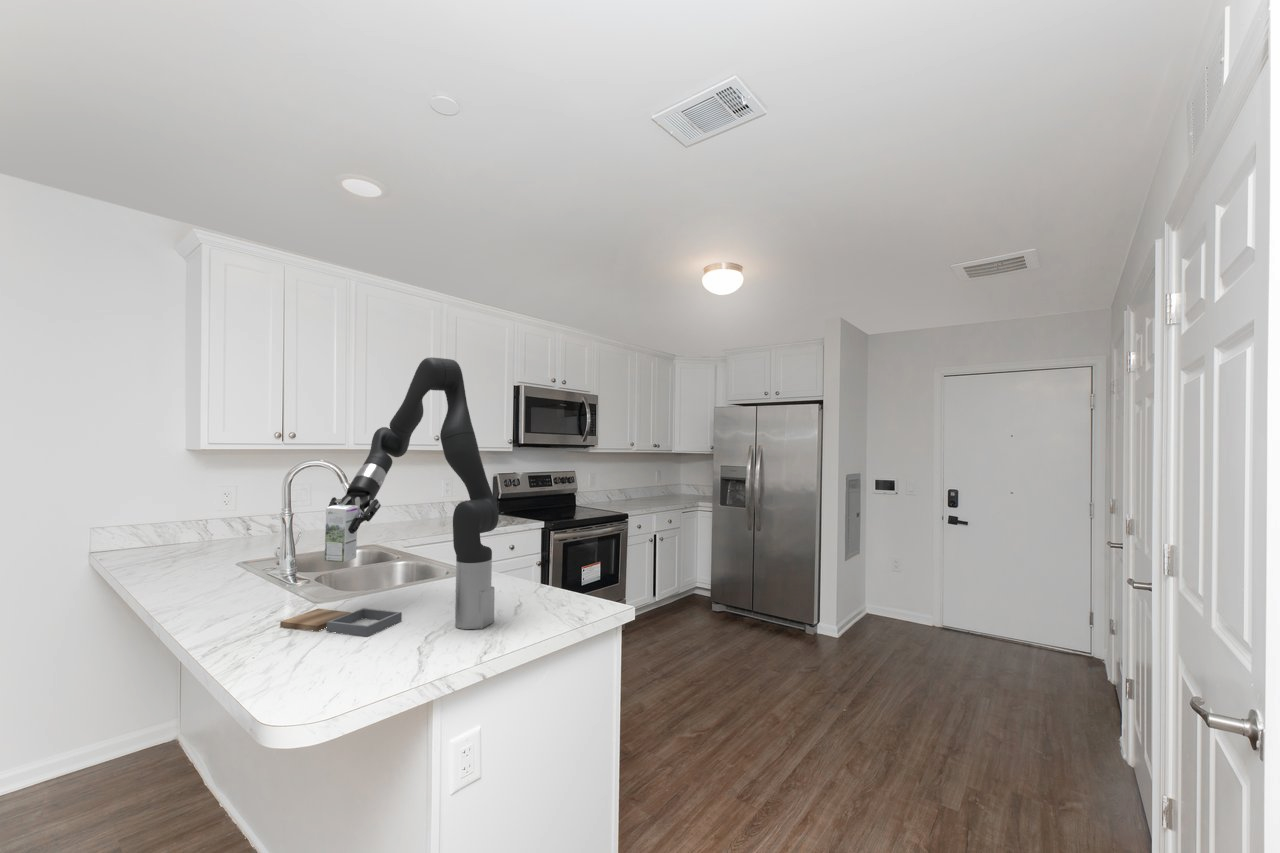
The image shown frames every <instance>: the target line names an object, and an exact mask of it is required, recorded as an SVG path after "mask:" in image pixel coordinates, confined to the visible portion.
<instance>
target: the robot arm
mask: <svg viewBox="0 0 1280 853" xmlns="http://www.w3.org/2000/svg"><path fill="white" fill-rule="evenodd" d="M430 391H441V392H444V394H445V398H446V404H447V411H446V415H445V417H444V421H443V422H442V426H441V428H440V433H439V434H440V437H439V438H440V443H441V445H442V451H443V454H444V455H443V456H444V458H445V460H446V461H447V463H448V465H449V466H450V468H451V469H452V471H454V473H455V474H456V475H457V476H458V477H459V478H460V480H461V481H462V482H463V484H464V486H465V487H466V491H467V493H468V497H469V499H470V500H464V501H461V502H459V503H458V504H456V506H455V508H454V510H453V515H452V535H453V536H452V537H453V539H452V540H453V543H452V544H453V549H454V552H455V558H456V560H455V603H454V604H455V605H454V606H455V608H454V610H455V612H454V613H455V614H454V618H455V619H454V626H455V627H456V628H458V629H460V630H462V629H463V630H475V629H477V630H478V629H480V630H481V629H485V628H486V627H487V626H489V625H491V624H492V623H495V590H496V589H495V586H493V585H492V575H493V574H492V570H493V569H492V567H493V564H492V563H493V550H492V548H491V547H490V546H486V545H483V543H482V541H481V540H482V539H481V534H483V533H488V532H489V533H490V532H492V531H494V530H495V529H496V528H497V525H499V524H498V523H499V516H500V515H499V510H498V509H499V508H498V506H497V502H496V500H495V498H494V495H493V492H492V489H491V486H490V484H489V481H488V478H487V474H486V471H485V468H484V465H483V461H482V459H481V458H482V457H481V454H480V451H479V450H480V449H479V445H478V441H477V437H476V433H475V431H474V427H473V423H472V419H471V415H470V410H469V407H468V402H467V395H466V394H467V393H466V390H465V381H464V377H463V371H462V368H461V366H460V364H459V363H458V362H457V360H455V359H451V358H443V357H442V358H441V357H426V358H424V359H422V361H421V362H419V365H418V366H417V368H416V370H415V373H414V375H413V377H412V380H411V381H410V384H409V387H408V388H407V393H406V395H405V396H404V399H403V401H402V404H401V405H400V407H399V408H398V409H397V411H396V412H395V414H394V416H392V418H391V420H390V422H389V427H386V426H381V427H380V428H378V429H377V430H376V431H375V432H374V434H373V436H372V440H371V445H370V450H369V454H368V455H367V458H366V459H365V461H364V463H363V464H362V466H361V467H360V468H359V469H358V471H357V472H356V474H355V476H354V477H353V479H352V481H351V482H350V483H349V484H350V485H349V486H348V488H347V489H346V493H345V495H344V496H343V497H342V498H338V499H337V498H336V497H333V496H332V498H331V499H330V502H329V504H328V506H327V507H329V506H333V505H352V506H358V512H357V514H356V518H354V519H353V521H352V523H351V525H350V526H349V528H348V530H349V532H350V533H351V534H354V532H356V531H357V532H358V529H359V528H360V525H361V524H362V523H364V522H370V521H372V519H373V517H374V516H375V515H376V513H377V512H378V510H379V509H380V508H381V506H382V505H381V503H380V501H379V500H378V499H377V498H376V497H377V495H378V493H379V491H380V489H381V487H382V486H383V484H384V481H385V479H386V476H387V475H388V472H389V471H390V469H391V468H392V465H393V458H400V457H402V456H404V455H405V454H406V453H407V451H408V448H409V446H410V442H411V441H410V440H411V436H412V435H413V433H414V431H415V430H416V429H417V427H418V426H419V424H420V423H421V421H422V419H423V417H424V404H423V398H424V397H425V396H426V395H427V393H429V392H430ZM392 457H393V458H392Z"/></svg>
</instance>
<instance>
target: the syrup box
mask: <svg viewBox="0 0 1280 853" xmlns="http://www.w3.org/2000/svg"><path fill="white" fill-rule="evenodd" d="M328 506H329V505H328ZM328 506H327V507H325V530H324V531H325V536H324V538H325V540H324V561H325V562H335V563H346V562H349V561H352V560H355V559H357V542H358V540H357V539H358V537H357V536H358V535H357V534H358V530H357V531H356V532H354V534H351V533H350V532H349V530H348V528H349V526H350V525H351V523H352V521H353V519H354V518H356V514H357V512H358V506H352V505H333V506H329V507H328Z"/></svg>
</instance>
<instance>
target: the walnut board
mask: <svg viewBox="0 0 1280 853" xmlns="http://www.w3.org/2000/svg"><path fill="white" fill-rule="evenodd" d="M352 612H353V611H352ZM352 612H351V611H344V610H336V609H335V610H334V609H333V610H332V609H326V608H316V609H312V610H310V611H306V612H304V613H302V614H298V615H295V616H292V617H290V618H287V619H283V620H280V623H279V624H280V625H279V627H280V628H282V627H285V628H284V629H290V628H294V629H293V630H298V629H305V630H304V631H306V630H313V631H312V632H314V631H318V632H320V631H319V630H321V629H323V630H325V629H324V628H326V627H327V622H328V621H331V620H333V619H336V618H338V617H341V616H344V615H346V614H349V613H352ZM321 631H322V630H321Z"/></svg>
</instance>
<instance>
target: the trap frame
mask: <svg viewBox="0 0 1280 853" xmlns="http://www.w3.org/2000/svg"><path fill="white" fill-rule="evenodd" d="M402 616H403V614H402V611H394V610H393V611H392V610H384V609H376V608H375V609H374V608H366V607H363V608H360V609H357V610H355V611H352V613H349V614H346V615H344V616H341V617H338V618H336V619H333V620H331V621H328V622H327V628H326V629H325V630H326V631H329V632H328V633H332V632H336V633H335V634H340V633H343V634H342V635H348V634H349V636H357V637H365V636H366V637H367V638H368V637H369V636H372V635H374V633H375V634H377V633H379V632H381V631H383V629H384V630H385V628H386V629H388V628H390V627H393V626H394V624H395V625H398V624H400V623H401V622H402ZM362 618H363V619H365V618H367V620H374V619H376V621H374V622H372V623H370V624H358V623H356V622H358V621H360V620H362ZM357 620H358V621H357ZM352 622H353V623H352ZM392 625H393V626H392ZM387 627H388V628H387ZM376 632H377V633H376Z"/></svg>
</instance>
